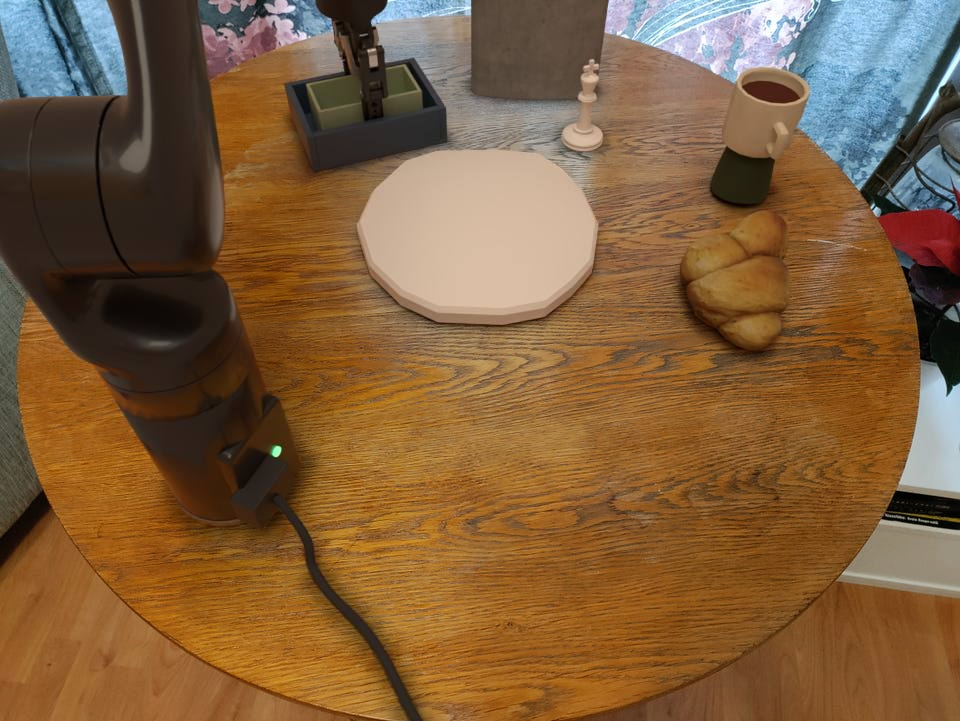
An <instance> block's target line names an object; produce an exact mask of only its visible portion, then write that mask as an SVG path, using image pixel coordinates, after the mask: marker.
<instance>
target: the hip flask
mask: <svg viewBox="0 0 960 721" xmlns="http://www.w3.org/2000/svg"><path fill="white" fill-rule="evenodd" d="M609 2H610V0H470V49H471V50H470V74H471V78H470V80H471V81H470V82H471V83H470V85H471V86H470V87H471V88H470V89H471V92H472V93H473V94H475V95H477V96H482V97H488V98H496V99H497V98H498V99H510V100H527V101H528V100H532V101H557V100H559V101H560V100H561V101H562V100H577V99H578V95H579V93H580V92H581V91H583V88H582V83H581V75H582V74H584V73H586V72H588V71H586V72H584V71H583V66H587V65H589V60H591V59H593V60H594V61H595V62H594V64H598V65H599V69H598V70H593V73H595V74H597V75H598V76H600V67H601V59H602V52H603V46H604V38H605V30H606V23H607V16H608V9H609ZM598 82H599V81H598ZM598 82H597V84H596V86H595V88H594V90H593V92H594V93H595V94H596V95H597V88H598Z"/></svg>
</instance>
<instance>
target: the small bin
mask: <svg viewBox="0 0 960 721" xmlns="http://www.w3.org/2000/svg"><path fill="white" fill-rule="evenodd" d="M386 79H387V90H388V98H384V99H382V105H383V115H384V117H387V116H391V115H396V114H401V113H405V112H410V111H415V110H419V109H423V103H422V91H421V89H420V87H419V86H418V84H417V83H416V81H415V79H414V78H413V76H412V74H411V73H410V71H409V70H408V68H407V66H406V65H405V64H403V65H398V66H393V67H388V68H386ZM373 84H376V83H375V82H371V83H370V84H369V85H373ZM306 88H307V93H308V98H309V104H310V109H311V114H312V119H313V123H314V125H315V127H316V130H317V131H322V130H326V129H331V128H336V127H340V126H345V125H350V124H354V123H359V122H364V119H363V111H362V104H361V96H360V95H359V87H358V83H357V79H356V77H354V76H352V75H348V76H343V77H338V78H333V79H328V80H323V81H318V82H313V83H308V84H306Z"/></svg>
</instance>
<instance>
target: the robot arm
mask: <svg viewBox="0 0 960 721" xmlns="http://www.w3.org/2000/svg"><path fill="white" fill-rule="evenodd" d="M105 1H106V3H107V6H108V9H109V11H110V13H111V16H112V19H113V23H114V27H115V29H116V33H117V36H118V40H119V41H118V42H119V44H120V48H121V49H120V50H121V52H122V58H123V64H124V70H125V78H126V94H108V95H107V94H105V95H61V96H59V95H58V96H57V95H55V96H30V97H28V96H27V97H16V98H10V99H4V100H2V101H0V259H1V260H2V261H3V263H4V265H5V267H7V269H8V270H9V271H10V273H11V275H12V276H13V277H14V279H15V281H17V283H18V285H20V286H21V288H22V289H23V291H24V292H25V293H26V294H27V296H28V297H29V298H30V300H31V301H32V302H33V304H34V305H35V306H36V308H37V309H38V310H39V311H40V313H41V314H42V315H43V317H44V318H45V319H46V321H47V322H48V323H49V325H50V326H51V328H53V330H54V332H56V334H57V335H58V337H59V338H60V340H61V341H62V342H63V343H64V345H65V346H66V347H67V348H68V349H69V351H71V352H72V353H73V354H74V356H76V357H78V358H79V359H81V360H82V361H84V362H86V363H88V364H90V365H92V366H93V368H94V369H95V371H96V372H97V373H98V376H99V377H100V378H101V380H102V382H103V383H104V385H105V386H106V388H107V390H108V391H109V393H110V395H111V396H112V398H113V400H114V401H115V403H116V405H117V406H118V408H119V409H120V411H121V413H122V415H123V416H124V418H125V419H126V420H127V422H128V424H129V425H130V427H131V429H132V431H133V432H134V433H135V435H136V437H137V438H138V440H139V441H140V443H141V445H142V446H143V448H144V450H145V451H146V452H147V455H148V457H150V459H151V461H152V462H153V464H154V466H155V467H156V469H157V471H158V472H159V474H160V476H161V477H162V478H163V480H164V482H165V483H166V484H167V486H168V488H169V489H170V490H171V492H172V496H173V498H174V499H175V501H176V503H177V505H178V507H179V508H180V510H182V511H183V513H184V514H185V515H186V516H187V517H189V518H190V519H192V520H193V521H195V522H197V523H200V524H202V525H205V526H209V527H217V528H218V527H219V528H224V527H225V528H227V527H228V528H229V527H235V526H240V525H243V524H247V525H249V526H251V527H253V528H255V529H258V530H260V531H264V529H266V527H267V525H269V524H268V523H269V522H270V521H271V520H272V518H273V516H274V515H275V513H276V512H277V511H278V510H279V511H280V512H281V513H282V515H283V516H284V517H285V519H286V520H287V521H288V522H289V523H290V524H291V526H292V527H293V529H294V530H295V532H296V533H297V535H298V537H299V539H300V540H301V543H302V546H303V551H304V552H303V553H304V560H305V565H306V568H307V570H308V572H309V574H310V575H311V577H312V580H313V581H314V582H315V584H316V585H317V588H318V589H319V590H320V592H321V593H322V594H323V595H324V596H325V597H326V600H328V602H329V603H331V605H332V606H334V607H335V608H336V610H337V611H338V612H339V613H340V614H342V616H344V618H346V619H347V620H348V621H349V622H350V624H352V625H353V626H354V627H355V629H356V630H357V631H358V632H359V634H360V635H361V636H362V637H363V638H364V639H365V641H366V642H367V644H368V645H369V646H370V648H371V650H372V651H373V652H374V654H375V656H376V657H377V659H378V661H379V663H380V664H381V666H382V668H383V670H384V672H385V674H386V676H387V678H388V680H389V682H390V684H391V686H392V688H393V690H394V692H395V695H396V696H397V698H398V700H399V702H400V704H401V707H402V709H403V711H404V712H405V714H406V716H407V718H408V720H409V721H424V720H423V718H422V717H421V715H420V713H419V711H418V710H417V708H416V705H415V704H414V702H413V700H412V697H411V696H410V694H409V692H408V690H407V688H406V686H405V684H404V683H403V682H404V681H403V680H402V678H401V676H400V674H399V672H398V670H397V668H396V667H395V664H394V662H393V661H392V659H391V657H390V655H389V654H388V652H387V650H386V649H385V647H384V645H383V644H382V642H381V640H380V639H379V638H378V637H377V635H376V633H375V632H374V631H373V630H372V628H371V627H370V626H369V625H368V624H367V622H366V621H365V620H364V619H363V618H362V617H361V615H359V613H357V612H356V610H354V609H353V608H352V607H351V605H349V604H348V603H347V602H346V601H344V599H343V598H341V596H339V594H338V593H337V592H336V591H335V590H334V589H333V587H332V586H331V585H330V583H329V582H328V581H327V580H326V578H325V576H324V575H323V573H322V572H321V570H320V568H319V565H318V563H317V560H316V552H315V550H316V549H315V545H314V541H313V539H312V536H311V535H310V534H311V533H310V532H309V530H308V529H307V527H306V526H305V524H304V522H303V521H302V519H301V518H300V517H299V515H298V514H297V513H296V512H295V511H294V510H293V508H292V507H291V506H290V505H289V504H288V502H287V501H286V500H285V499H286V498H287V496H288V495H289V494H290V492H291V491H292V489H293V488H294V487H295V485H296V480H295V478H296V477H297V475H298V473H299V472H300V471H301V469H302V468H303V463H302V460H301V457H300V454H299V451H298V448H297V445H296V442H295V440H294V437H293V434H292V431H291V427H290V424H289V420H288V419H287V415H286V413H285V412H286V411H285V410H284V406H283V404H282V401H281V399H280V397H279V396H277V395H274V394H272V393H270V392H268V389H267V387H266V383H265V381H264V377H263V375H262V372H261V369H260V366H259V364H258V361H257V358H256V356H255V352H254V349H253V346H252V345H251V340H250V338H249V335H248V332H247V329H246V326H245V324H244V322H243V318H242V315H241V311H240V309H239V306H238V303H237V299H236V297H235V295H234V293H233V291H232V289H231V287H230V284H228V282H227V280H226V279H225V278H224V276H222V275H221V274H220V273H219V272H218V271H217V270H216V269H215V268H213V267H214V266H215V264H216V262H217V260H218V258H219V257H220V254H221V251H222V249H223V244H224V236H225V229H226V228H225V227H226V194H225V192H226V190H225V181H224V171H223V163H222V157H221V155H222V154H221V148H220V140H219V134H218V133H219V132H218V127H217V121H216V113H215V107H214V106H215V105H214V101H213V94H212V87H211V80H210V74H209V72H210V71H209V66H208V60H207V52H206V45H205V40H204V39H205V38H204V32H203V31H204V30H203V26H202V17H201V11H200V4H199V0H105ZM388 1H389V0H314V3H315V6H316V9H317V10H318V12H319V13H320V14H321V15H323V16H324V17H325V18H328V19H331V25H332V26H331V27H332V32H333V39H334V40H333V44H334V45H335V47H336V48H337V51H338V57H339V58H340V61H342V66H343V71H344V75H345V76H348V75H352V76H354V77H356V79H357V83H358V87H359V95H360V96H361V104H362V111H363V119H364V121H368V120H373V119H378V118H382V117H384V115H383V105H382V99H384V98H388V90H387V79H386V68H385V63H386V58H385V53H386V52H385V48H384V47H383V45H382V44H379V42H380V37H379V33H378V32H379V31H378V28H377V26H376V25H373V24H372V21H373V19H375V17H376V16H378V15H380V14H381V13H383V11H384V10H385V9H386V7H387V5H388V3H389V2H388ZM371 82H375V83H376V84H373V85H369V84H370V83H371Z"/></svg>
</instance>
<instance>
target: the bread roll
mask: <svg viewBox="0 0 960 721" xmlns="http://www.w3.org/2000/svg"><path fill="white" fill-rule="evenodd" d="M789 245H790V229H789V226H788V223H787V221H786V220H785V219H784V217H782V215H781V216H780V215H779V214H778V213H777V212H775V211H771V210H766V209H761V210H757V211H754V212H752V213H750V214H749V215H747V216H746V217H744V218H743V219H742V220H741V221H740V222H739V223H738V224H737V225H736V226H734V227H733V228H732V229H731V231H730V232H729V233H727V232H716V233H715V234H712V235H711V234H710V235H703V236H701V237H700V238H698V239H697V240H695V241H694V242H693V243H691V244H690V245H689V246H688V247H686V248H687V249H686V250H685V252H684V254H683V256H682V258H681V260H680V263H679V267H678V268H679V277H680V279H681V281H682V282H683V283H684V285H685V286H686V287H685V289H686V296H687V299H688V303H689V305H690V307H691V308H692V310H693V311H692V312H693V314H694V315H695V316H696V318H698V319H699V320H701V321H702V322H703V323H705V324H707V325H708V326H710V327H713V328H716V330H717V331H718V332H719V333H720V335H721V336H722V337H723V338H724V339H725V340H727V341H728V342H730V343H732V345H735V346H736V347H739V348H741V349H744V350H748V351H760V350H763V349H765V348H767V347H768V346H770V345H771V344H772V343H773V342H774V341H775V340H776V339H777V338H778V336H779V334H780V333H781V331H782V317H781V313H783V312H785V311H786V309H788V306H789V304H790V297H791V292H792V276H791V273H790V269H789V268H788V266H787V264H786V263H785V261H784V259H785V258H786V256H787V253H788V250H789V247H790V246H789Z"/></svg>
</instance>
